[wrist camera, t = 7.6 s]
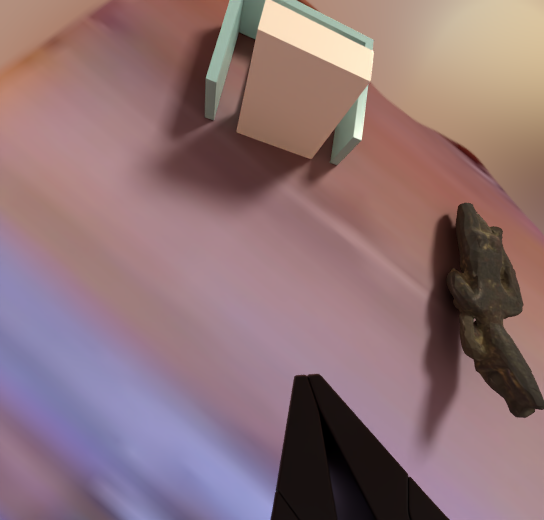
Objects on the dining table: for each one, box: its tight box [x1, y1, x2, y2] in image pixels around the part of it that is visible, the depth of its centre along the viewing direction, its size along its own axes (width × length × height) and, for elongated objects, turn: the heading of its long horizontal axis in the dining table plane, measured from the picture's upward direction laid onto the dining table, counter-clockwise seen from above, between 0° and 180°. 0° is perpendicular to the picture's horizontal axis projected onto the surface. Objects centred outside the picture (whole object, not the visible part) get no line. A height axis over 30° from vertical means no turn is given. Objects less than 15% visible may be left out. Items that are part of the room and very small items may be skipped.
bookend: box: [236, 0, 374, 159], centre depth 21 cm, size 10×8×9 cm
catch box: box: [205, 0, 374, 165], centre depth 23 cm, size 11×13×4 cm
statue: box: [446, 203, 544, 418], centre depth 24 cm, size 6×6×20 cm
